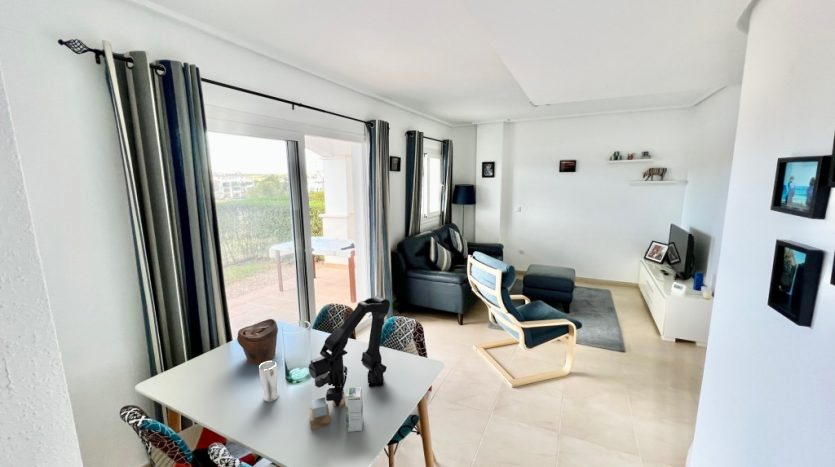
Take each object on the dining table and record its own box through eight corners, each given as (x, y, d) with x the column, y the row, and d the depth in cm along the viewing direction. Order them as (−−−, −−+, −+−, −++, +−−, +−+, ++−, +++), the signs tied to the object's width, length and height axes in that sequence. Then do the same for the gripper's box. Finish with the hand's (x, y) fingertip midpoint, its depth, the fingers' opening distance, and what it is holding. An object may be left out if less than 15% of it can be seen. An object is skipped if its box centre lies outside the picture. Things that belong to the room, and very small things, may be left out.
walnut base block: (328, 412, 139) (327, 403, 138) (330, 424, 133) (329, 415, 132) (310, 417, 137) (309, 408, 136) (311, 429, 130) (310, 420, 129)
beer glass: (283, 393, 150) (280, 362, 147) (272, 404, 144) (268, 371, 141) (270, 390, 153) (266, 359, 149) (258, 400, 146) (254, 368, 143)
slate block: (325, 406, 137) (325, 397, 136) (327, 414, 132) (326, 405, 131) (312, 409, 135) (311, 400, 134) (313, 418, 131) (312, 409, 130)
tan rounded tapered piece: (345, 398, 146) (344, 390, 146) (344, 406, 142) (343, 398, 141) (333, 399, 146) (333, 391, 145) (332, 407, 141) (331, 399, 140)
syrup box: (348, 420, 134) (346, 387, 131) (363, 419, 134) (361, 386, 131) (346, 432, 128) (344, 397, 125) (362, 431, 129) (360, 396, 126)
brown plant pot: (231, 366, 171) (226, 332, 167) (257, 345, 190) (254, 314, 186) (263, 371, 167) (259, 336, 163) (287, 349, 186) (284, 318, 182)
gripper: (319, 355, 149) (322, 387, 152) (310, 382, 131) (314, 419, 134) (346, 353, 150) (348, 385, 153) (341, 380, 131) (343, 416, 135)
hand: (338, 400), depth 144 cm, fingers open, 6 cm apart
